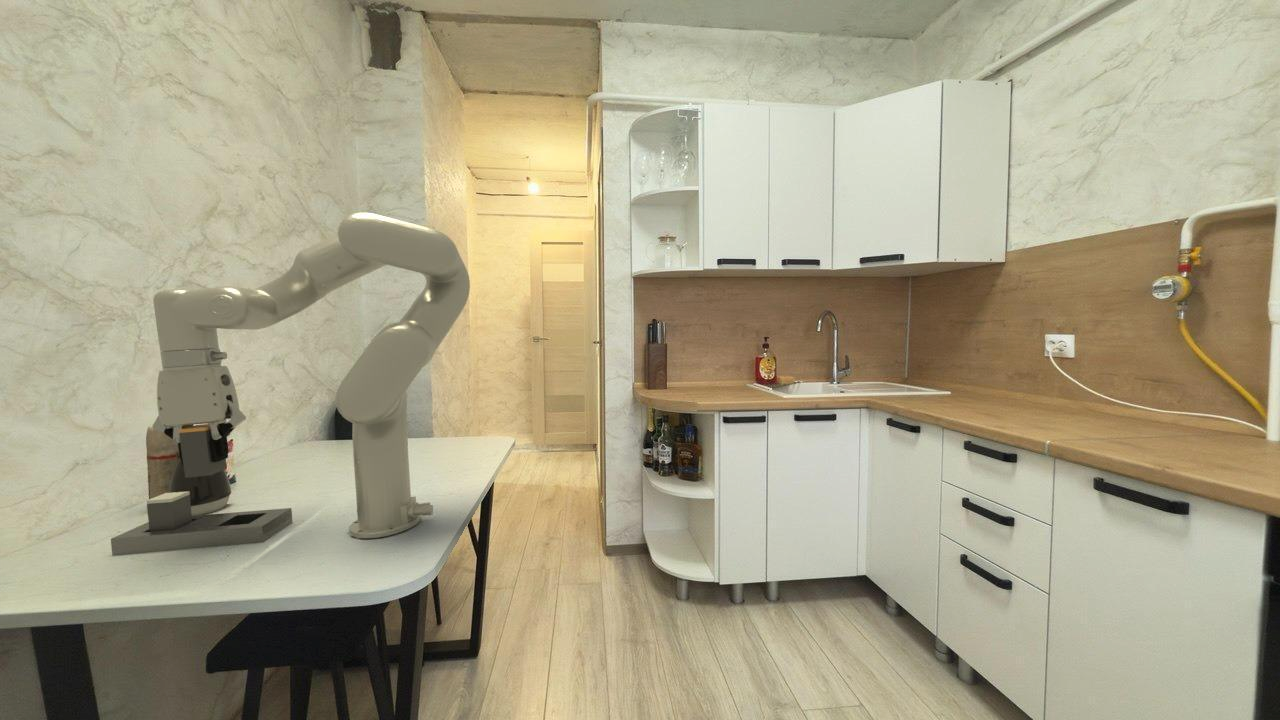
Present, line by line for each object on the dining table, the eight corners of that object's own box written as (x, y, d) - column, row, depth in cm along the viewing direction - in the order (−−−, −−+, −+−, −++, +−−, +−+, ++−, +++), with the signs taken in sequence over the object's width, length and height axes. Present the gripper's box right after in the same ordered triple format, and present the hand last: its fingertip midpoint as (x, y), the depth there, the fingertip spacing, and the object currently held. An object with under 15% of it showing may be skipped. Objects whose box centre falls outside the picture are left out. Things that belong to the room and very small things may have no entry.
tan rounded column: (172, 504, 110) (164, 420, 109) (210, 501, 111) (202, 419, 110) (137, 518, 102) (128, 428, 100) (179, 515, 103) (170, 426, 101)
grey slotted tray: (292, 527, 94) (291, 507, 94) (263, 547, 85) (262, 526, 85) (157, 538, 90) (156, 518, 90) (112, 560, 82) (110, 538, 81)
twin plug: (193, 535, 89) (189, 491, 89) (175, 544, 85) (171, 498, 85) (169, 537, 88) (165, 493, 88) (151, 546, 85) (146, 500, 84)
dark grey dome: (194, 525, 97) (188, 453, 96) (156, 522, 99) (149, 452, 98) (245, 506, 107) (239, 441, 106) (209, 505, 109) (203, 440, 108)
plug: (227, 468, 86) (221, 422, 85) (211, 475, 82) (204, 427, 81) (202, 471, 85) (196, 425, 85) (185, 477, 81) (178, 429, 81)
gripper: (258, 355, 87) (270, 451, 89) (155, 362, 84) (169, 461, 86) (230, 358, 80) (244, 462, 81) (116, 365, 77) (132, 473, 78)
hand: (205, 460), depth 83 cm, fingers closed on plug, 4 cm apart
